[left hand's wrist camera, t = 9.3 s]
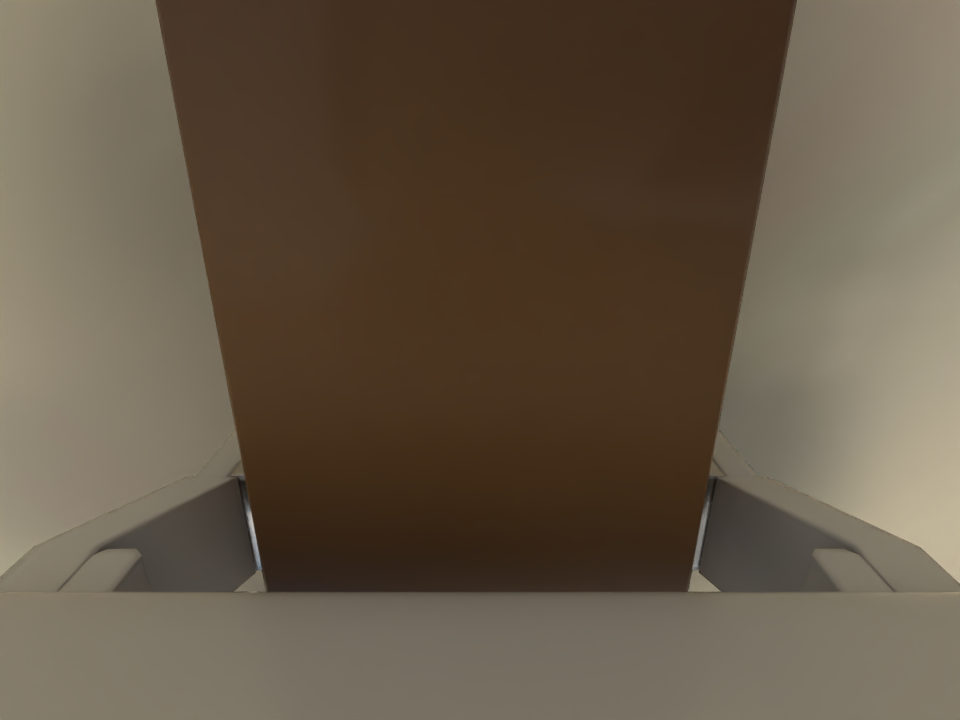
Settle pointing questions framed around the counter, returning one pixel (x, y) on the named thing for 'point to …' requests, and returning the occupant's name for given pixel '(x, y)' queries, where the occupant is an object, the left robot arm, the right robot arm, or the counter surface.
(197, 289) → the counter surface
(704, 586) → the counter surface
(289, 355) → the beam
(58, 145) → the counter surface
